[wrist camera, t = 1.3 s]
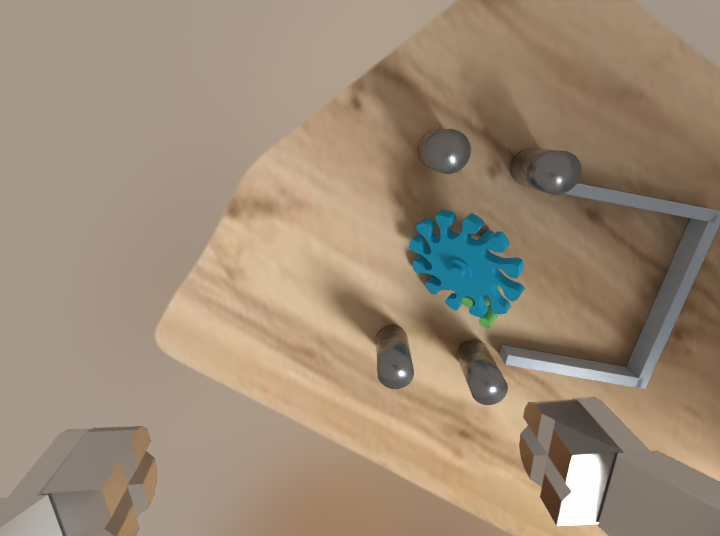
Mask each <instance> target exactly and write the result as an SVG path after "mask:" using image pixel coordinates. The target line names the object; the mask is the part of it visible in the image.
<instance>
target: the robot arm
mask: <svg viewBox="0 0 720 536" xmlns="http://www.w3.org/2000/svg"><path fill="white" fill-rule="evenodd" d="M523 418H524V419H525V421H526V422H527V424H528V426H527V427H526V428H525V429H524V430H523V431H522V432H521V434H520V443H519V448H520V455H521V460H522V463H523V466H524V469H525V471H526V472H527V474H528V476H529V478H530V479H531V480H532V481H534V482H535V483H537V484H538V485H540V486H541V487H542V489H541V494H540V498H541V499H542V501H543V503H544V505H545V507H546V508H547V510H548V512H549V514H550V515H551V517H552V519H553V521H554V522H555V524H556V526H565V525H584V524H598V527H600V528H601V529H602V530H603V531H604V532H606V533H607V534H608V535H609V536H720V482H719V481H717V480H715V479H713V478H711V477H709V476H707V475H705V474H703V473H701V472H699V471H697V470H695V469H693V468H691V467H689V466H687V465H685V464H683V463H681V462H679V461H677V460H675V459H673V458H671V457H669V456H667V455H665V454H663V453H661V452H659V451H650V450H649V449H648V448H647V447H646V446H645V445H644V444H643V443H642V442H641V441H640V440H639V439H638V438H637V437H636V436H635V435H634V434H633V433H632V432H631V431H630V430H629V429H628V428H627V426H626V425H625V424H624V423H623V422H622V421H621V420H620V419H619V418H618V417H617V416H616V415H615V414H614V413H613V412H612V411H611V410H610V409H609V408H608V407H607V406H606V405H605V404H604V403H603V402H602V401H601V400H600V399H598V398H596V397H587V398H575V399H572V400H555V401H540V402H528V404H527V405H526V407H525V410H524V416H523ZM150 442H151V440H150V436H149V433H148V429H147V428H145V427H143V426H133V427H108V428H93V429H70V430H69V429H68V430H66V431H64V432H62V433H60V434H59V435H58V436H57V438H56V439H55V440H54V441H53V443H52V444H51V445H50V446H49V448H48V449H47V450H46V451H45V452H44V454H43V455H42V456H41V457H40V459H39V460H38V461H37V462H36V463H35V465H34V466H33V467H32V468H31V470H30V471H29V472H28V473H27V474H26V476H25V477H24V478H23V479H22V480H21V482H20V483H19V484H18V486H17V487H16V488H15V489H14V490H13V491H12V493H11V494H10V495H9V496H8V498H0V536H136V535H137V533H138V531H139V525H138V521H137V517H139V516H140V515H141V514H142V513H143V512H144V511H145V510H147V509H148V508H149V505H150V503H151V501H152V499H153V496H154V493H155V487H156V483H157V466H156V461H155V458H154V457H153V456H152V455H151V454H149V453H148V452H147V451H146V450H147V447H148V446H149V444H150Z"/></svg>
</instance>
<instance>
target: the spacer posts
mask: <svg viewBox="0 0 720 536" xmlns="http://www.w3.org/2000/svg"><path fill="white" fill-rule="evenodd" d="M470 152H471V148H470V143H469V141H468V139H467V137H466V136H465V135H464V134H463V133H461V132H460V131H457V130H453V129H447V130H435V131H431V132H428V133H427V134H425V135H424V136H423V137H422V139H421V140H420V142H419V145H418V155H419V158H420V160H421V161H422V162H423V163H424V164H425V165H427V166H429V167H430V168H432V169H434V170H436V171H438V172H441V173H444V174H451V173H455V172H457V171H459V170H461V169H462V168H463V167H464V166H465V165H466V163H467V162H468V160H469V157H470ZM511 175H512V177H513V179H514V180H515V181H516V182H517V183H519V184H522V185H525V186H528V187H531V188H534V189H537V190H540V191H543V192H546V193H550V194H554V195H559V194H564V193H566V192H568V191H570V190H571V189H572V188H573V187H574V186H575V185H576V184H577V182H578V181H579V178H580V175H581V165H580V162H579V160H578V158H577V157H576V156H575V155H573V154H572V153H569V152H565V151H553V150H541V149H526V150H523V151H521V152H519V153H518V154H517V155H516V156H515V157H514V159H513V161H512V163H511ZM376 344H377V371H378V378H379V380H380V382H381V383H382V384H383V385H384V386H386V387H388V388H391V389H400V388H403V387H405V386H407V385H408V384H409V383H410V382H411V381H412V379H413V376H414V370H413V365H412V359H411V354H410V349H409V344H408V338H407V335H406V333H405V331H404V330H403V329H402V328H400V327H398V326H386V327H384V328H382V329H381V330H380V331H379V333H378V334H377V338H376ZM457 358H458V361H459V363H460V366H461V368H462V371H463V373H464V376H465V378H466V381H467V383H468V386H469V388H470V391H471V393H472V396H473V398H474V399H475V400H476V401H477V402H479V403H481V404H484V405H492V404H496V403H498V402H500V401H501V400H502V399H503V398H504V397H505V396H506V394H507V390H508V386H507V383H506V381H505V379H504V377H503V376H502V374H501V372H500V370H499V368H498V367H497V365H496V363H495V361H494V359H493V358H492V356H491V354H490V352H489V350H488V349H487V347H486V345H485V344H484V343H482V342H481V341H478V340H469V341H466V342H464V343H463V344H462V345H461V346H460V347H459V349H458V351H457Z"/></svg>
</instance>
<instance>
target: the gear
mask: <svg viewBox="0 0 720 536" xmlns="http://www.w3.org/2000/svg"><path fill="white" fill-rule="evenodd" d="M455 220H456V216H455V213H453V212H451V211H446V210H442V211H440V212H439V213H438V214H437V215H436V222H437V224H438V226H439V228H440V233H441V237H440V238H439V237H437V236H436V235H435V233H434V228H435V224H434V222H433V220H432V219H431V218H428V219H425V220H423V221H421V222H420V223H419V224H418V225H417V226H416V229H417V231H418V232H419V233H420V234H421V235H422V236H423V237H424V238H425V239H426V240H427V242H428V244H429V246H430V248H431V249H430V248H428V246H427V245H426V242H425V240H424V238H423V237H422V236H420V235H417V236H416V237H415V238H414V239H413V240H412V241H411V242H410V244H409V248H410V250H412V251H413V252H416V253H418V254H420V255H422V256H423V257H421V256H419V257H417V258H416V259H415V260H414V261H413V268H414V271H415V272H416V273H419V274H421V273H428V274H431V275H433V276H435V277H437V278H438V279H437V278H435V277H432V278H430V279H429V280H428V281H427V283H426V284H425V285H426V287H427V289H428V290H429V292H430V293H431V294H436V293H437V292H438V291H439V290H442V289H448V290H452V291H454V292H455V293H452V294H451V295H450V296H449V297H448V298H447V299H446V301H445V303H446V304H447V305H448V306H449V307H451V308H452V309H454V310H458V308H459V307H460V306H461V305H462V303H463V304H464V305H465V306H467V307H470V308H469V312H470V314H472V315H474V316H477V317H480V320H479V322H480V324H481V325H482V326H483V327H485V328H489V327H490V326H491V325H492V323H493V322H494V320H495V319H496V318H497V314H504V313H507V311H508V310H509V308H510V307H511V305H510V303H509V301H508V300H506V299H505V298H504V297H503V296H502V295H501V294H500V292H499V291H498V290H499V289H500V287H501V288H502V289H503V291H504V294H505V296H506V298H507V299H509V300H510V301H515V300H517V299H518V297H519V296H520V295H521V293H522V292H523V290H524V289H525V288H524V286H523V285H521V284H520V283H518V282H514V281H512V280H510V279H508V278H507V277H506V276H504V275H503V274H502V273H501V272H500V271H499V269H498V268H500V269H502V270H503V271H504V272H505V273H506V274H507V275H508V276H509V277H511V278H518V276H519V275H520V274H521V272H522V270H523V260H521V259H519V258H502V257H499V256H496V255H494V254H492V253H490V252H489V251H488V249H490V250H492V251H495V252H498V253H501V252H504V251H505V250H506V248H507V247H508V246H509V245H510V244H509V241H508V239H507V237H506V235H505V234H504V233H503V232H496V233H495V234H494V233H493V232H492V231H489V230H488V231H486V232H485V233H484V234H483V235H482V236H481V237H480V238H479V239H478V240H475V239H473V238H472V237H471V235H470V234H475V233H477V232H478V231H479V230H480V229H481V228H482V227H483V225H484V222H483V220H482V219H480V218H479V217H478V216H476V215H474V214H473V213H472V214H470V215H469V216H468V217H467V218H466V219H465V220H464V221H463V228H462V232H461V233H460V234H455V233H453V232H452V231H451V229H450V225H451V224H452V223H453V222H454V221H455ZM424 257H425V258H426V259H427V260H428V261H429V262H430V263H431V264H430V263H429V262H428V261H427V260H426V259H425V258H424Z"/></svg>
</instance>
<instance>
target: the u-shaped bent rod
mask: <svg viewBox="0 0 720 536" xmlns="http://www.w3.org/2000/svg"><path fill="white" fill-rule="evenodd" d="M564 194H567V195H572V196H578V197H583V198H588V199H593V200H599V201H604V202H609V203H614V204H619V205H625V206H630V207H635V208H640V209H645V210H651V211H656V212H661V213H666V214H671V215H677V216H682V217H687V218H690V220H689V223H688V225H687V227H686V230H685V232H684V234H683V237H682V239H681V241H680V244H679V246H678V248H677V251H676V253H675V255H674V257H673V260H672V262H671V264H670V267H669V269H668V271H667V274H666V276H665V278H664V281H663V283H662V285H661V288H660V290H659V292H658V295H657V297H656V299H655V302H654V304H653V306H652V308H651V311H650V313H649V315H648V318H647V320H646V322H645V325H644V327H643V329H642V332H641V334H640V336H639V339H638V341H637V343H636V346H635V348H634V350H633V352H632V355H631V357H630V359H629V362H628V364H627V366H626V367H625V366H619V365H613V364H608V363H602V362H596V361H591V360H585V359H579V358H574V357H568V356H563V355H557V354H551V353H546V352H540V351H534V350H529V349H523V348H518V347H512V346H506V345H502V346H501V349H500V352H499V355H500V356H501V358H502V360H503V361H504V363H505V365H511V366H516V367H522V368H528V369H534V370H539V371H545V372H551V373H556V374H562V375H568V376H573V377H579V378H585V379H590V380H596V381H602V382H607V383H613V384H619V385H624V386H630V387H636V388H642V389H645V388H646V386H647V384H648V382H649V379H650V377H651V375H652V373H653V371H654V369H655V366H656V364H657V362H658V360H659V358H660V355H661V353H662V351H663V349H664V347H665V344H666V342H667V340H668V338H669V336H670V333H671V331H672V329H673V327H674V325H675V322H676V320H677V318H678V316H679V314H680V311H681V309H682V307H683V305H684V303H685V300H686V298H687V296H688V294H689V292H690V290H691V287H692V285H693V283H694V281H695V279H696V276H697V274H698V272H699V270H700V268H701V265H702V263H703V261H704V259H705V257H706V254H707V252H708V250H709V248H710V246H711V243H712V241H713V239H714V237H715V235H716V232H717V230H718V228H719V226H720V211H719V210H714V209H709V208H704V207H699V206H694V205H689V204H684V203H679V202H673V201H668V200H663V199H658V198H653V197H648V196H642V195H637V194H632V193H627V192H622V191H616V190H611V189H606V188H601V187H596V186H591V185H585V184H580V183H577V184H576V185H575V186H574V187H573V188H572V189H571V190H570V191H568V192H566V193H564Z"/></svg>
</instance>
